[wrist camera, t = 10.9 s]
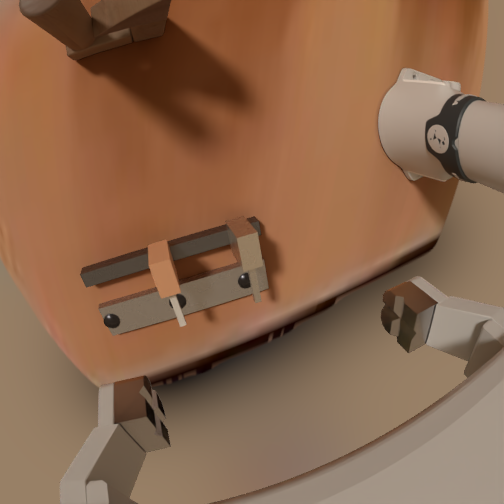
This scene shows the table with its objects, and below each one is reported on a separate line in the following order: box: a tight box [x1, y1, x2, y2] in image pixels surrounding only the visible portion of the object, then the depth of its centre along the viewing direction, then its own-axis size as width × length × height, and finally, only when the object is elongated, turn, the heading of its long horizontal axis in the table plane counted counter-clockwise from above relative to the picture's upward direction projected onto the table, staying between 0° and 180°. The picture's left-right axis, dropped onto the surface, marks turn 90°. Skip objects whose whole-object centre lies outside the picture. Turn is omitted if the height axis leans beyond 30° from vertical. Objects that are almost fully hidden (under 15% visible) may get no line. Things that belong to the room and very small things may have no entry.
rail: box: [80, 216, 263, 303], centre depth 38 cm, size 24×10×7 cm, turn 100°
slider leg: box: [148, 239, 187, 327], centre depth 37 cm, size 2×10×5 cm, turn 10°
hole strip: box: [99, 257, 269, 335], centre depth 43 cm, size 24×5×1 cm, turn 100°
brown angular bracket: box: [19, 0, 171, 60], centre depth 19 cm, size 4×11×18 cm, turn 100°
